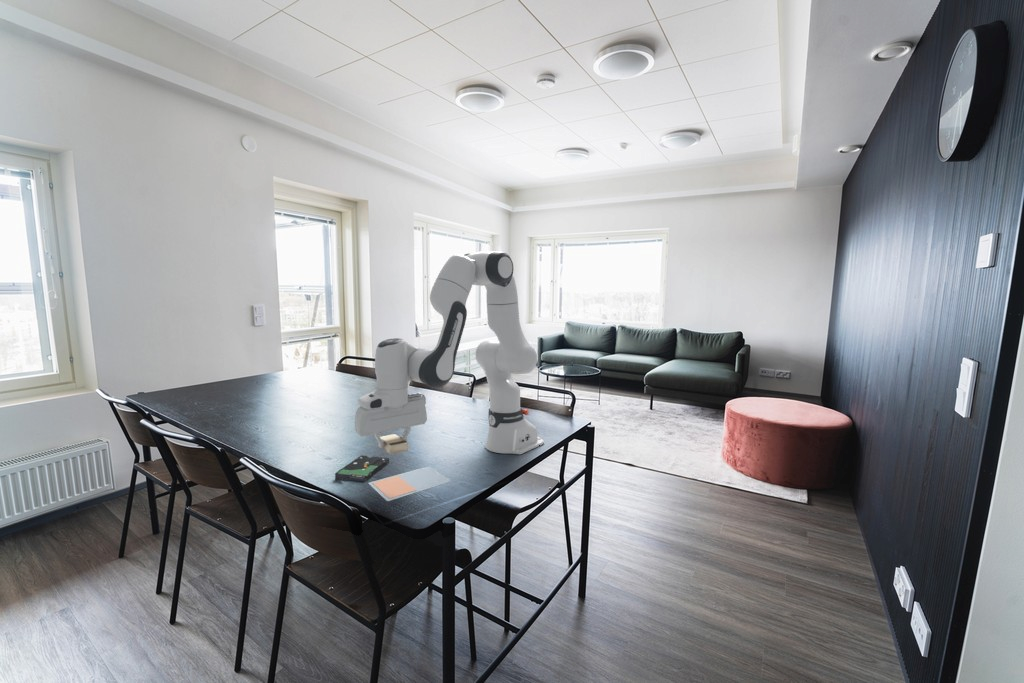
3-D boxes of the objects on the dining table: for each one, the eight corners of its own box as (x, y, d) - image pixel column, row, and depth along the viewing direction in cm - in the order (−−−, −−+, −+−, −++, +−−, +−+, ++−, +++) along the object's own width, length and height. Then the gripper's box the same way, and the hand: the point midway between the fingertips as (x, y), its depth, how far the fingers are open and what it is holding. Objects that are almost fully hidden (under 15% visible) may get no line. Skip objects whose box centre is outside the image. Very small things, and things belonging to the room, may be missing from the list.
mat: (429, 467, 138) (429, 465, 138) (451, 483, 127) (451, 480, 127) (367, 484, 125) (367, 482, 125) (387, 503, 115) (387, 500, 114)
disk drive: (360, 463, 143) (334, 481, 128) (360, 455, 142) (334, 472, 128) (389, 465, 141) (366, 485, 126) (389, 457, 140) (366, 475, 126)
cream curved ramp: (378, 445, 123) (378, 436, 123) (394, 441, 127) (394, 433, 126) (391, 454, 117) (390, 445, 116) (408, 450, 120) (408, 441, 119)
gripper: (420, 389, 129) (420, 434, 130) (351, 399, 116) (353, 448, 118) (430, 393, 124) (430, 440, 126) (360, 404, 111) (361, 455, 113)
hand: (392, 444), depth 121 cm, fingers closed on cream curved ramp, 5 cm apart
